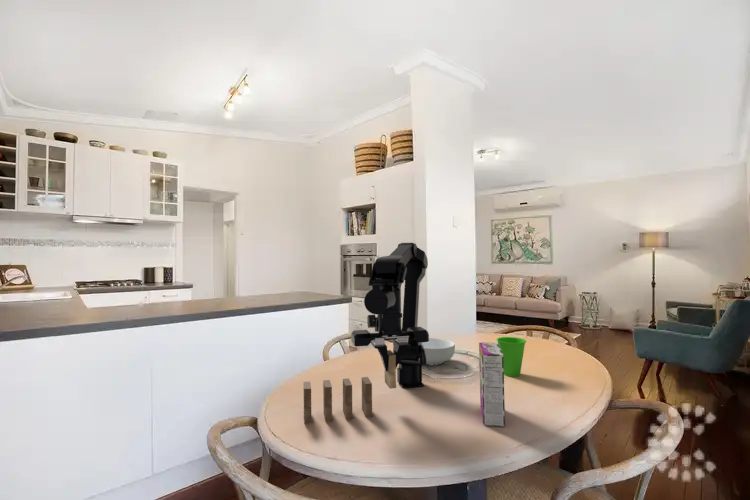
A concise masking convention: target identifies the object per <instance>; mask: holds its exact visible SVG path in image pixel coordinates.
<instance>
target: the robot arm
mask: <svg viewBox="0 0 750 500" xmlns="http://www.w3.org/2000/svg"><path fill="white" fill-rule="evenodd" d="M428 261H429V259H428V257H427V254H426V252H425V251H424V250H422V249H421V248H419V247H418V245H417V244H416V243H414V242H401V243H398V245H397V247H396V248H395V250H393V251H392V252H391V254H389V255H383V256H380V257H378V258H376V259H375V261H374V263H373V264H372V268H371V271H370V277H369V281H368V286H369V287H372V289H371V290H369V291H368V292H367V293H365V296H364V299H363V303H364V308H365V309H366V311H368V313H370V314H368V315H367V327H368V329H371V328H372V329H373V328H374V332H370V331H369V330H368V329H358V330H357V329H356V330H355V329H354V330H353V331H352V332H351V335H350V336H351V337H350V339H351V343H352V344H353V346H354V347H368V346H369V345H370V344H371V345H372V347H373V348H374V349H375V350H376V349H377V351H378V353H379V355H380V359H381V362H382V365H383V367H384V372H385V371H386V372H387V371H388V355H387V350H388V345H387V344H386V343H385V341H389V340H392V345H393V349H392V352H393V353H394V354H395V355H396V382H397V383H398V384H399V385H400V387H402V388H404V389H406V388H409V389H410V388H418V387H424V386H425V384H424V382H423V366H427V365H426V354H425V350H424V347H423V345H422V342H428V341H429V338H430V335H429V332H428V330H427V329H425V328H423V327H422V326H418V322H419V321H418V320H419V303H420V301H419V300H420V283H421V281H423V279H424V278H425V276H426V273H427V272H426V270H427V269H428V264H429V262H428ZM402 284H404V291H403V293H404V294H403V295H404V296H403V305H402V290H401V289H402ZM402 308H403V310H402ZM376 315H377V317H376Z"/></svg>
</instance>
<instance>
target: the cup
mask: <svg viewBox="0 0 750 500" xmlns="http://www.w3.org/2000/svg"><path fill="white" fill-rule="evenodd" d="M495 341H497V343H498V344H499V346H500V349H501V351H502V353H503V355H504V356H503V360H504V376H507V377H514V378H517V377H519V376H520V375H521V372H522V365H523V358H524V351H525V346H526V343H527V340H526V339H524V338H523V337H522V338H521V337H517V336H499V337H496V339H495Z"/></svg>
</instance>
